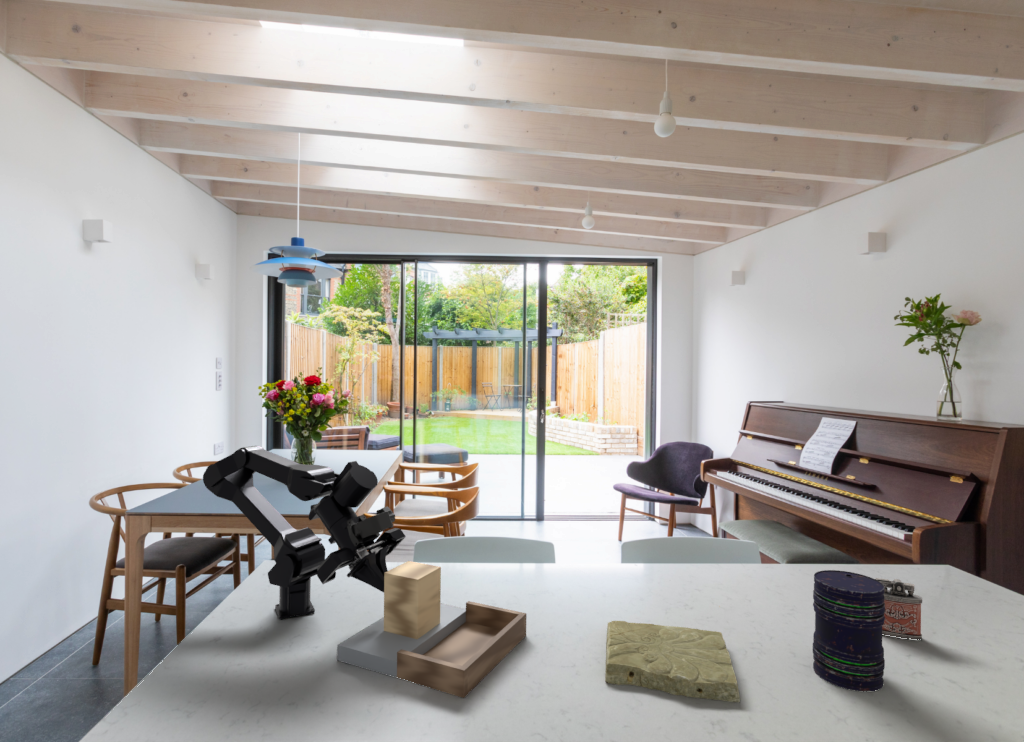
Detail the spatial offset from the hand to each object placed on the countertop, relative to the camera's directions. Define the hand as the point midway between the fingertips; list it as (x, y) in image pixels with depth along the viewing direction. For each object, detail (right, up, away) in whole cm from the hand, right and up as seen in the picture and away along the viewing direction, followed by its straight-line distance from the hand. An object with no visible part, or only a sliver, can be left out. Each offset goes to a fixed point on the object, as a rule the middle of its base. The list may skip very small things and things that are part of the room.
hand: (389, 591), depth 102 cm
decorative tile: (+47, -9, -9) cm, 49 cm away
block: (+4, -5, -2) cm, 7 cm away
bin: (+14, -8, -7) cm, 18 cm away
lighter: (+92, -9, +2) cm, 93 cm away
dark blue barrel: (+75, -9, -12) cm, 77 cm away
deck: (+4, -8, -2) cm, 9 cm away
